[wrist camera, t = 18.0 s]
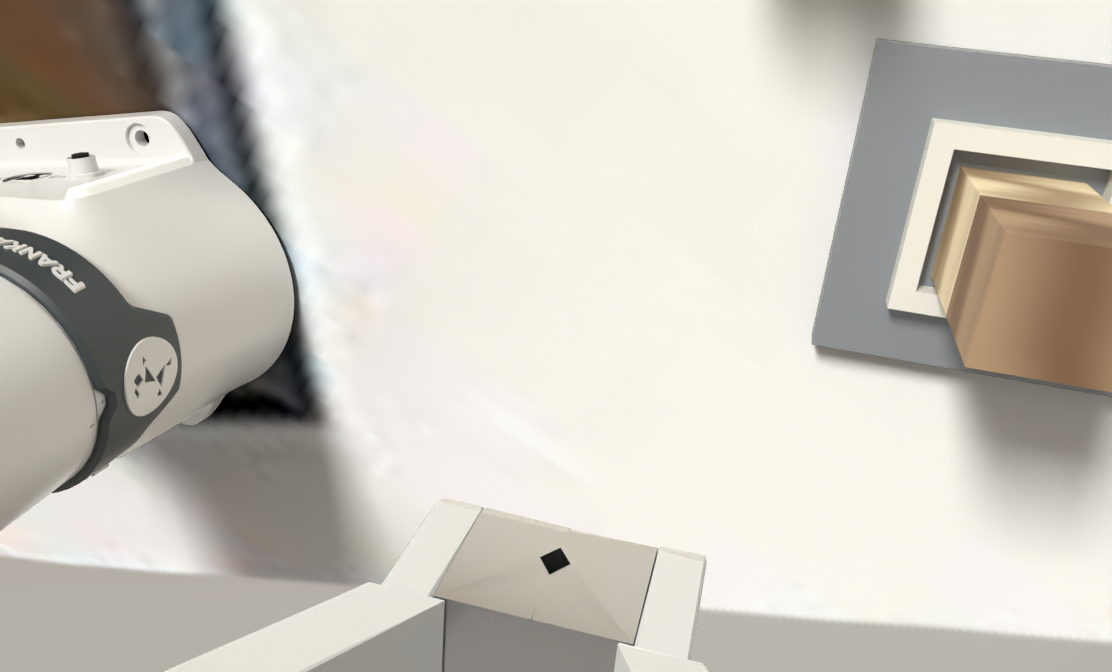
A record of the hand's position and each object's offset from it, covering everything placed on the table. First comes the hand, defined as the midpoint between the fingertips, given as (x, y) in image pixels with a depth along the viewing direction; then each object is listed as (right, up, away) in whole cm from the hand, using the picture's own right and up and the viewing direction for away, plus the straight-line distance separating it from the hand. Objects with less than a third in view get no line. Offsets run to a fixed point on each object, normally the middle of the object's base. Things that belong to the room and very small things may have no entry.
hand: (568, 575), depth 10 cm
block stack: (+19, +7, +30) cm, 36 cm away
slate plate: (+20, +8, +31) cm, 37 cm away
